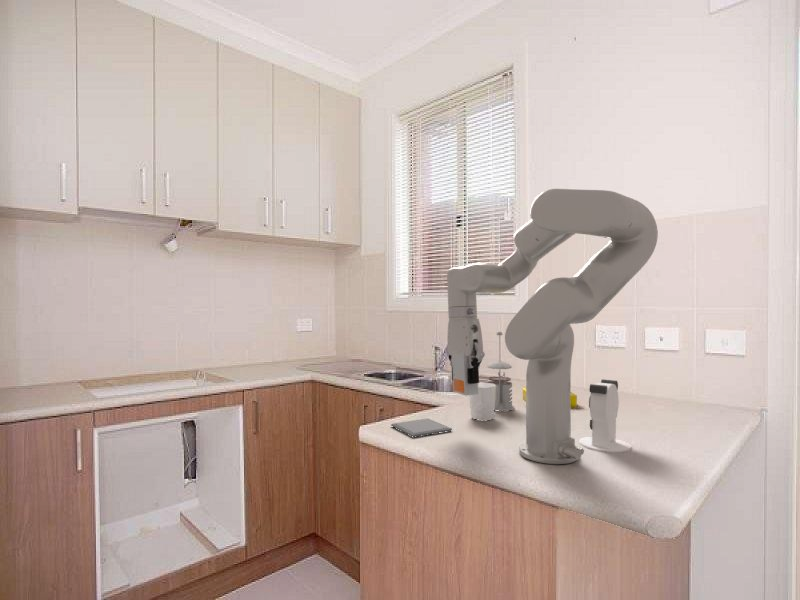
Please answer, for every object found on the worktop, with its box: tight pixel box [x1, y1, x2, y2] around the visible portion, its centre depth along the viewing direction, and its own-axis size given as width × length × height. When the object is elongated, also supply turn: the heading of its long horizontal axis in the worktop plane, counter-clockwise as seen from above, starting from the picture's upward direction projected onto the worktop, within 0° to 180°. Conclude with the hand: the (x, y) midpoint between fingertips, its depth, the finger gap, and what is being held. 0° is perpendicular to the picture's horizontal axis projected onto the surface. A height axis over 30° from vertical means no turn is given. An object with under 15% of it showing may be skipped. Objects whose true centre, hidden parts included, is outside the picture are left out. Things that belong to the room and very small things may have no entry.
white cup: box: [468, 382, 496, 421], centre depth 134 cm, size 8×8×10 cm
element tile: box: [522, 387, 578, 409], centre depth 155 cm, size 15×15×5 cm
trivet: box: [390, 418, 453, 437], centre depth 123 cm, size 12×12×1 cm
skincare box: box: [452, 349, 478, 397], centre depth 119 cm, size 6×4×12 cm
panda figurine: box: [578, 378, 632, 454], centre depth 109 cm, size 12×11×15 cm
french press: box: [486, 331, 516, 412], centre depth 146 cm, size 10×12×25 cm
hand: (465, 381), depth 119 cm, fingers closed on skincare box, 6 cm apart
